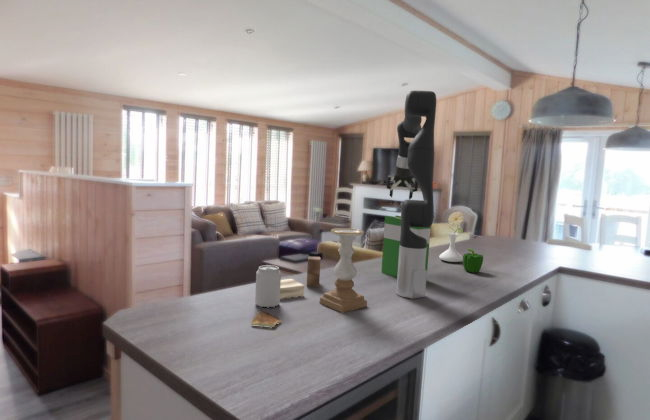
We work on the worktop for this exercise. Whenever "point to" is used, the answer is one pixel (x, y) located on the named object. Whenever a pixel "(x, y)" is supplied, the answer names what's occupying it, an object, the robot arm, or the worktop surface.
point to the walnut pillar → (313, 271)
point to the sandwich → (265, 319)
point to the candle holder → (344, 275)
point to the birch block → (290, 288)
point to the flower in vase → (453, 239)
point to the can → (268, 286)
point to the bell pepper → (472, 261)
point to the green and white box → (398, 244)
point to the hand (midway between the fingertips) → (400, 197)
